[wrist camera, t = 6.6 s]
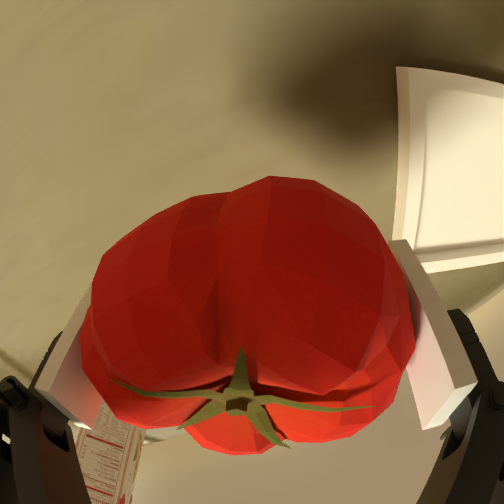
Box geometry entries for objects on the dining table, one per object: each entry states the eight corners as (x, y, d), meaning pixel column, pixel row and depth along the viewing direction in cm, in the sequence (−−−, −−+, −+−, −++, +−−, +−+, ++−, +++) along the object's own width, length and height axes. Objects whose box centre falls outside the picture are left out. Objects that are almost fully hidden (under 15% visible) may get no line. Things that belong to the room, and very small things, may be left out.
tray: (395, 66, 16) (407, 67, 14) (550, 99, 14) (563, 105, 12) (388, 263, 25) (395, 277, 23) (525, 245, 23) (534, 255, 21)
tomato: (404, 298, 13) (447, 424, 7) (215, 368, 17) (199, 473, 11) (313, 97, 8) (392, 160, 3) (86, 247, 12) (9, 363, 7)
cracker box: (156, 397, 41) (129, 521, 23) (119, 386, 40) (85, 506, 22) (162, 348, 33) (119, 519, 16) (114, 333, 32) (56, 495, 15)
